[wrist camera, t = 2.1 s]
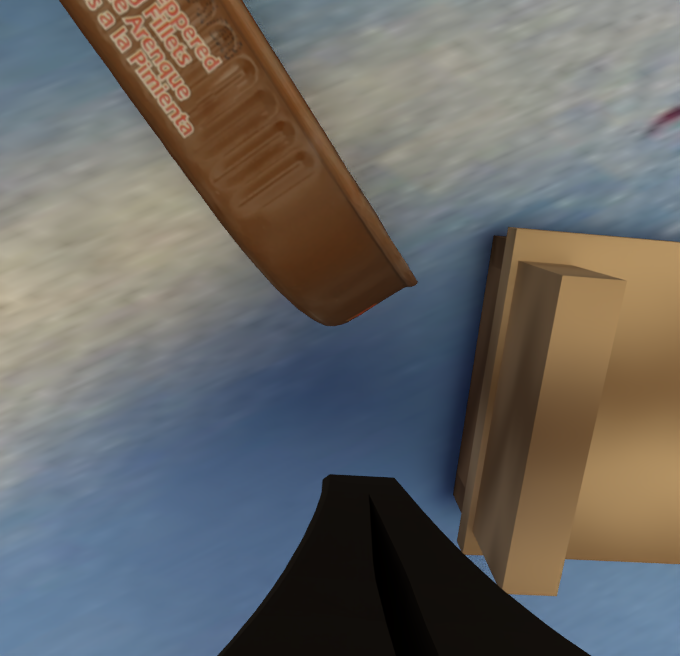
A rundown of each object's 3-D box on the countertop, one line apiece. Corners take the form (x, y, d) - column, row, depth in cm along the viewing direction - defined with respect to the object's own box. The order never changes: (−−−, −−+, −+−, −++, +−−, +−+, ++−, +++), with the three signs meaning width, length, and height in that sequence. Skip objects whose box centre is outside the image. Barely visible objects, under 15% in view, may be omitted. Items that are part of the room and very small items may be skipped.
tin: (401, 254, 18) (470, 306, 10) (325, 304, 18) (332, 394, 10) (117, -198, 15) (-132, -688, 6) (30, -126, 15) (-315, -509, 7)
